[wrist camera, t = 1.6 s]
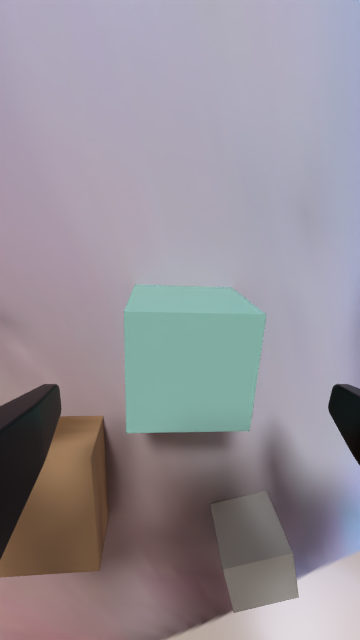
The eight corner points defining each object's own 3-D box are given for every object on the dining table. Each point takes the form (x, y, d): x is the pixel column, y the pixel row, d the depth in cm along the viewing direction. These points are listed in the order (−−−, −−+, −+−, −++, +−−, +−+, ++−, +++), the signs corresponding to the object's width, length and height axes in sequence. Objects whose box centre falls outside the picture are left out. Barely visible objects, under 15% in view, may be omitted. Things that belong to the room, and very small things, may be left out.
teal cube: (231, 287, 15) (266, 314, 10) (222, 372, 16) (249, 430, 11) (135, 284, 14) (124, 311, 9) (135, 371, 16) (126, 433, 11)
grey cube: (266, 489, 19) (292, 553, 15) (272, 529, 20) (298, 597, 17) (209, 502, 19) (222, 569, 15) (219, 541, 20) (234, 612, 17)
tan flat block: (103, 412, 17) (91, 457, 13) (109, 511, 19) (99, 570, 16) (-39, 415, 16) (-90, 463, 13) (-14, 517, 18) (-52, 580, 15)
